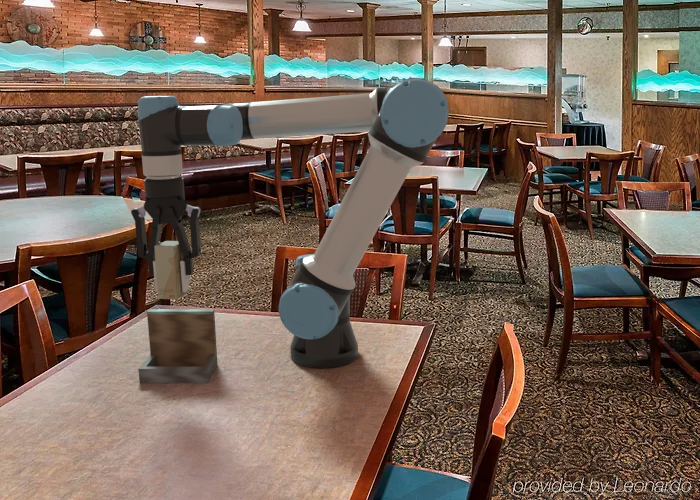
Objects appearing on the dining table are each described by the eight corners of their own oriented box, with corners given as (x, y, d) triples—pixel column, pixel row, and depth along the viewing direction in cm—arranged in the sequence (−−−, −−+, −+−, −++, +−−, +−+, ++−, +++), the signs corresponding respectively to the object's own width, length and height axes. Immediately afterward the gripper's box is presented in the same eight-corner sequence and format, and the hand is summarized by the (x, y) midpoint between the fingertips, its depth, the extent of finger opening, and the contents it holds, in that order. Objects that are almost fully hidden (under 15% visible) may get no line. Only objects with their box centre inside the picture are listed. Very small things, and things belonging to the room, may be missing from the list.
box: (177, 300, 136) (173, 246, 134) (157, 299, 137) (152, 245, 134) (188, 292, 141) (184, 240, 139) (168, 291, 142) (164, 239, 139)
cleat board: (217, 364, 148) (214, 309, 145) (207, 382, 139) (203, 324, 136) (153, 364, 148) (149, 309, 146) (139, 382, 139) (134, 324, 136)
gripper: (212, 173, 137) (220, 284, 142) (125, 174, 137) (135, 285, 143) (204, 178, 129) (212, 295, 135) (111, 179, 130) (123, 296, 135)
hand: (172, 290), depth 139 cm, fingers closed on box, 5 cm apart
